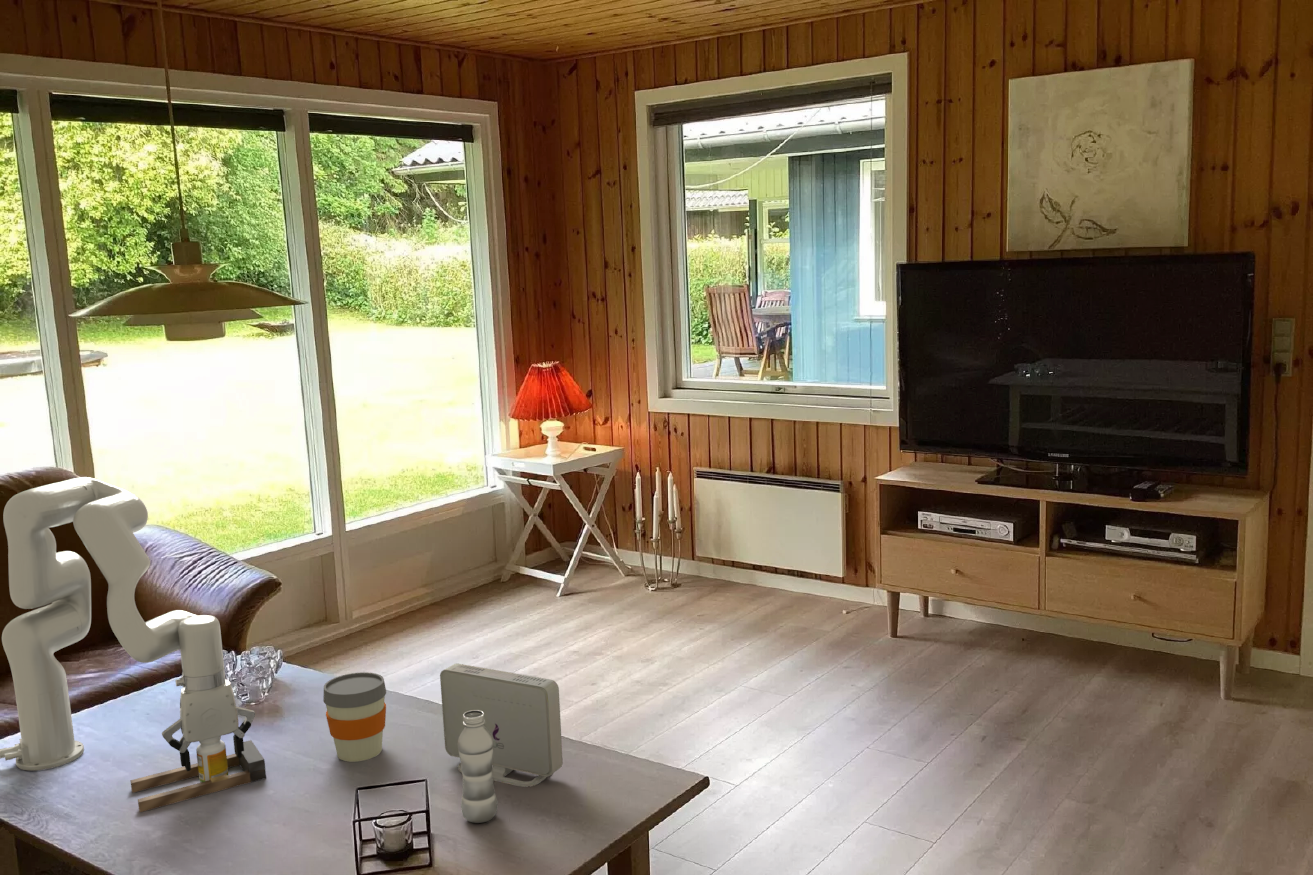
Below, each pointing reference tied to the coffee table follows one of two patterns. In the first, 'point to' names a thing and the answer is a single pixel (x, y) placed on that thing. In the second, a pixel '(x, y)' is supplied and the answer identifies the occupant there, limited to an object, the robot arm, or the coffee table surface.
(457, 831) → the coffee table surface
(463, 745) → the plastic bottle
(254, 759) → the guide channel
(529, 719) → the network device
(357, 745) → the reusable coffee cup
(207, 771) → the supplement bottle
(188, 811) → the coffee table surface
